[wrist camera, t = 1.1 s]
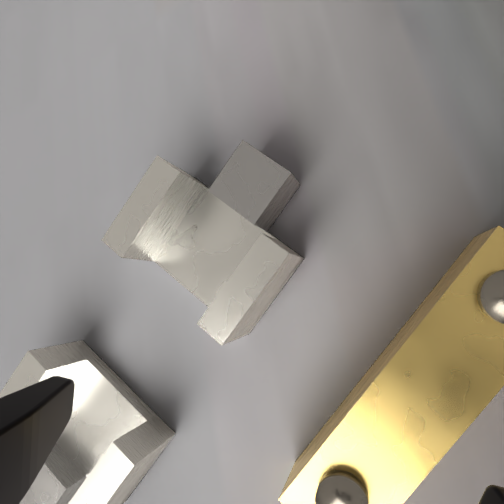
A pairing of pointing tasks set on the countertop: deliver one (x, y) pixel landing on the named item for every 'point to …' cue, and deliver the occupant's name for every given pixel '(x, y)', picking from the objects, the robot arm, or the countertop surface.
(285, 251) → the chain ends
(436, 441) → the link
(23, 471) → the robot arm
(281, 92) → the countertop surface
